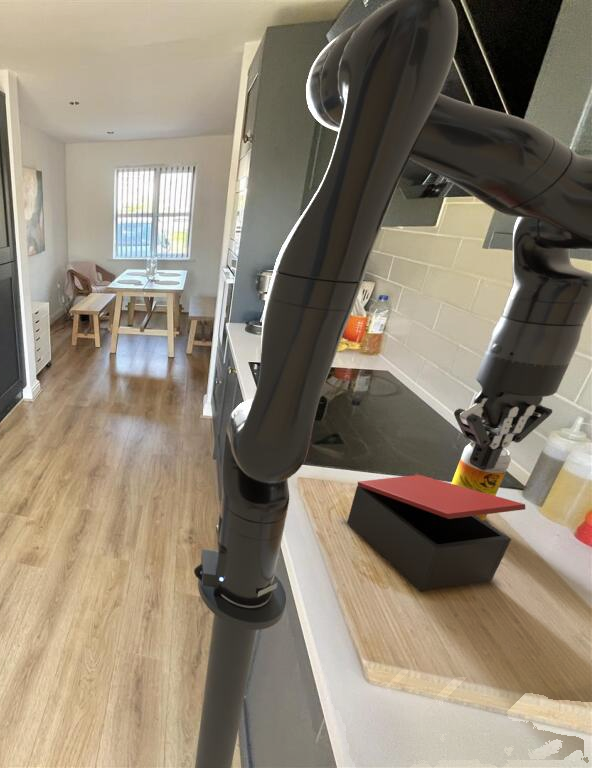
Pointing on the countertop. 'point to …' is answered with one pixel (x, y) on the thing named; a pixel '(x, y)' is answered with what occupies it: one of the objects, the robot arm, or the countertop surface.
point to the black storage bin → (428, 542)
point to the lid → (440, 496)
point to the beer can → (481, 473)
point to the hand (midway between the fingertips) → (481, 466)
